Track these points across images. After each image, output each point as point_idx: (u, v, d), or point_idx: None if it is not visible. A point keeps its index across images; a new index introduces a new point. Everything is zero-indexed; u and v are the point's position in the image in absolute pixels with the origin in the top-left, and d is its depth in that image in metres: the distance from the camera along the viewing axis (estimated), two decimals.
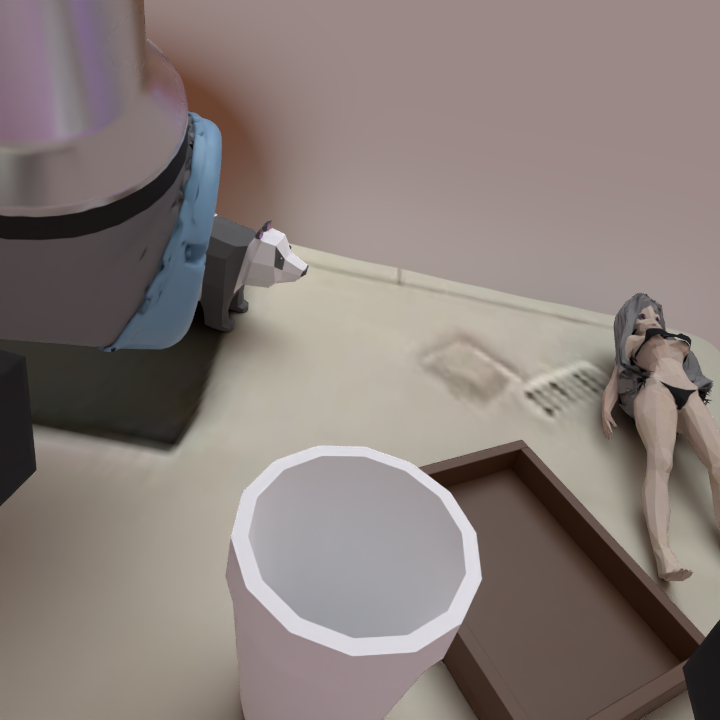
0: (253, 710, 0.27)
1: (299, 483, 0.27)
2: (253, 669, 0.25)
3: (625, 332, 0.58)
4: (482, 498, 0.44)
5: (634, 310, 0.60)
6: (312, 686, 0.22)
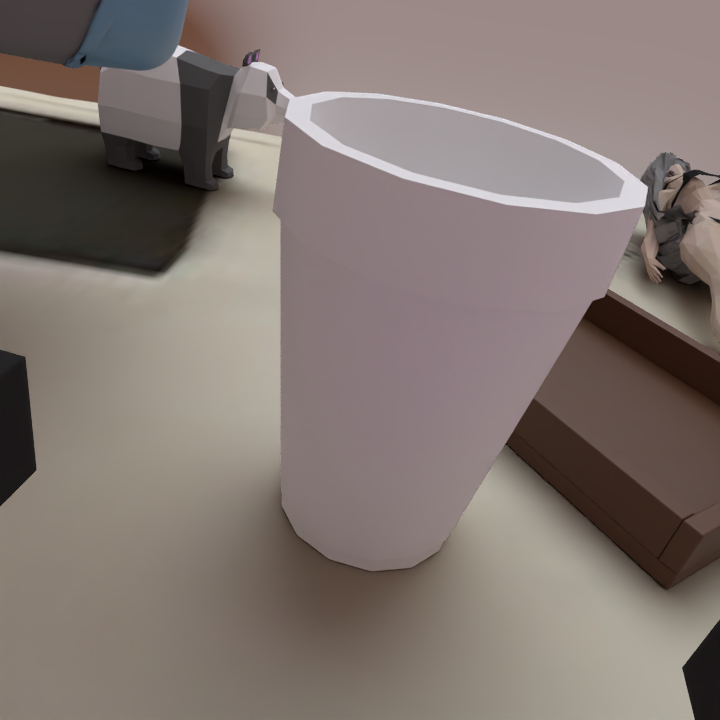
0: (309, 462, 0.19)
1: (359, 138, 0.19)
2: (318, 355, 0.17)
3: (656, 186, 0.52)
4: None
5: (660, 168, 0.55)
6: (423, 324, 0.15)
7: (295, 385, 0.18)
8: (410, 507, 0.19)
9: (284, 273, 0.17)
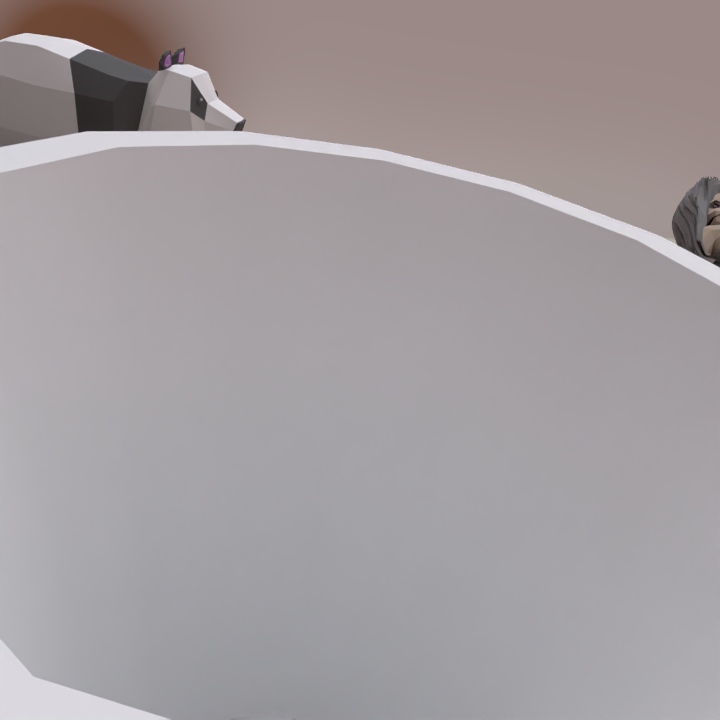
0: None
1: (186, 234, 0.09)
2: None
3: (699, 221, 0.41)
4: None
5: (702, 197, 0.44)
6: None
7: None
8: None
9: None
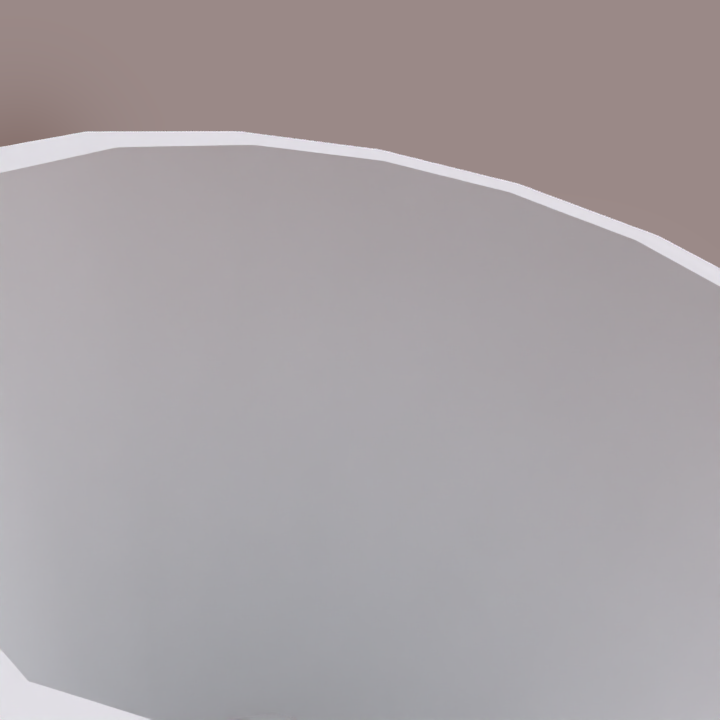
0: None
1: (186, 235, 0.09)
2: None
3: None
4: None
5: None
6: None
7: None
8: None
9: None
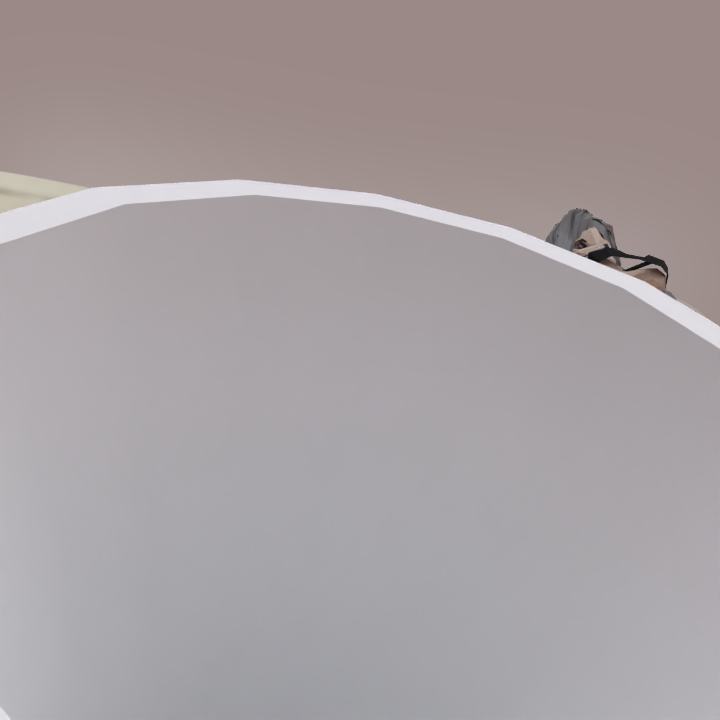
0: None
1: (189, 282, 0.09)
2: None
3: None
4: None
5: (567, 235, 0.36)
6: None
7: None
8: None
9: None
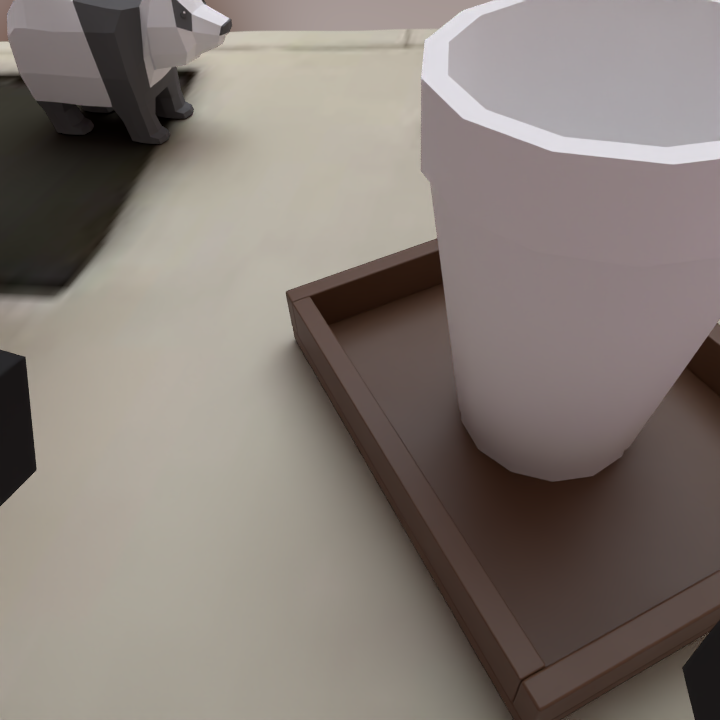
0: (483, 394, 0.20)
1: (504, 52, 0.18)
2: (482, 307, 0.17)
3: None
4: None
5: None
6: (587, 282, 0.14)
7: (462, 328, 0.19)
8: (587, 431, 0.19)
9: (439, 227, 0.17)
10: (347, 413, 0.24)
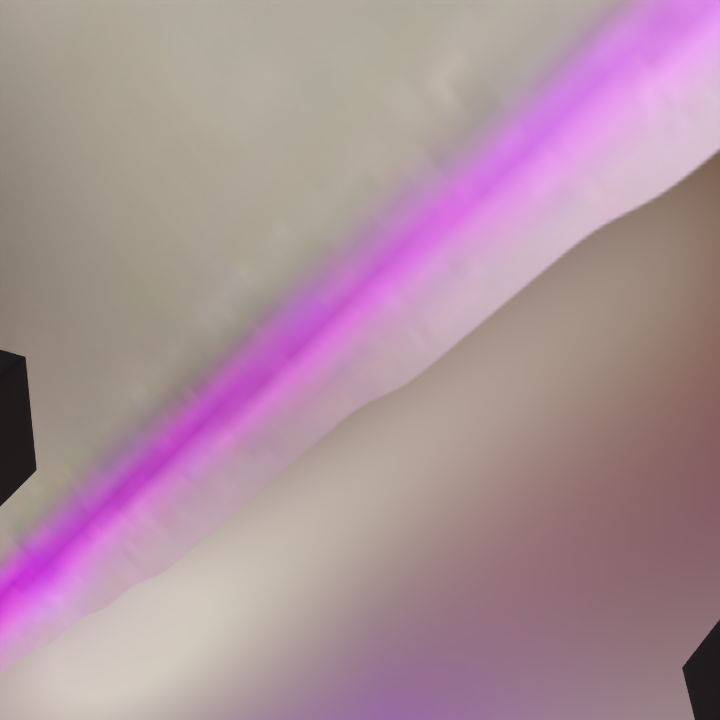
0: None
1: None
2: None
3: None
4: None
5: None
6: None
7: None
8: None
9: None
10: None
